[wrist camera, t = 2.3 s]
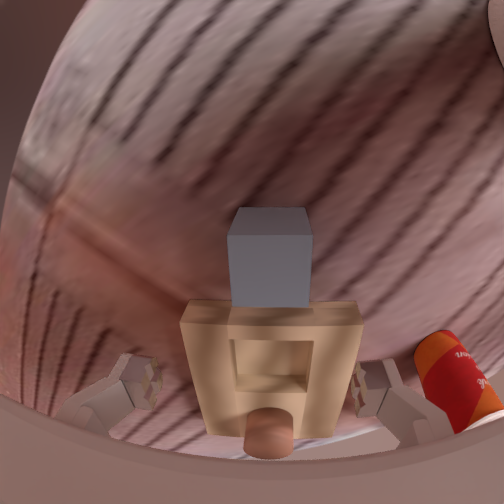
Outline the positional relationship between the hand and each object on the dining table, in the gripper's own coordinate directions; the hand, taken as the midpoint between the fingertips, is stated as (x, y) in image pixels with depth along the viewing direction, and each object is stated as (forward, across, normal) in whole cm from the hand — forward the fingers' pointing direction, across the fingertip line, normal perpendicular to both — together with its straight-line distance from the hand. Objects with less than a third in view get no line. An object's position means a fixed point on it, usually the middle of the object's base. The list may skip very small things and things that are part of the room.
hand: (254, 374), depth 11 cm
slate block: (+14, 0, 0) cm, 14 cm away
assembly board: (+14, 0, +14) cm, 20 cm away
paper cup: (+14, -19, +12) cm, 27 cm away
